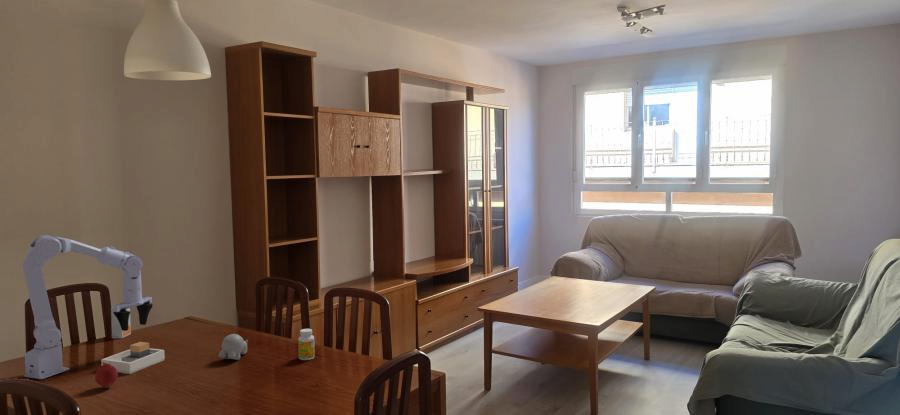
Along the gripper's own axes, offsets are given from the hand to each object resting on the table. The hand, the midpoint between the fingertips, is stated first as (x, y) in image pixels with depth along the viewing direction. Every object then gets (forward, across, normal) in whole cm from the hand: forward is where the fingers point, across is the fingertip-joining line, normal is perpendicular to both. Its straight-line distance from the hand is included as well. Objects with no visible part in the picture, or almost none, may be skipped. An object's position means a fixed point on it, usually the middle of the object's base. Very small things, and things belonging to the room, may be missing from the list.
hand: (134, 327), depth 203 cm
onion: (+10, -26, -17) cm, 33 cm away
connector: (+9, -6, -9) cm, 14 cm away
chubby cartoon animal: (+10, +8, -36) cm, 38 cm away
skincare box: (+10, +16, +24) cm, 31 cm away
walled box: (+10, -8, -8) cm, 15 cm away
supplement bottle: (+10, +16, -59) cm, 62 cm away
